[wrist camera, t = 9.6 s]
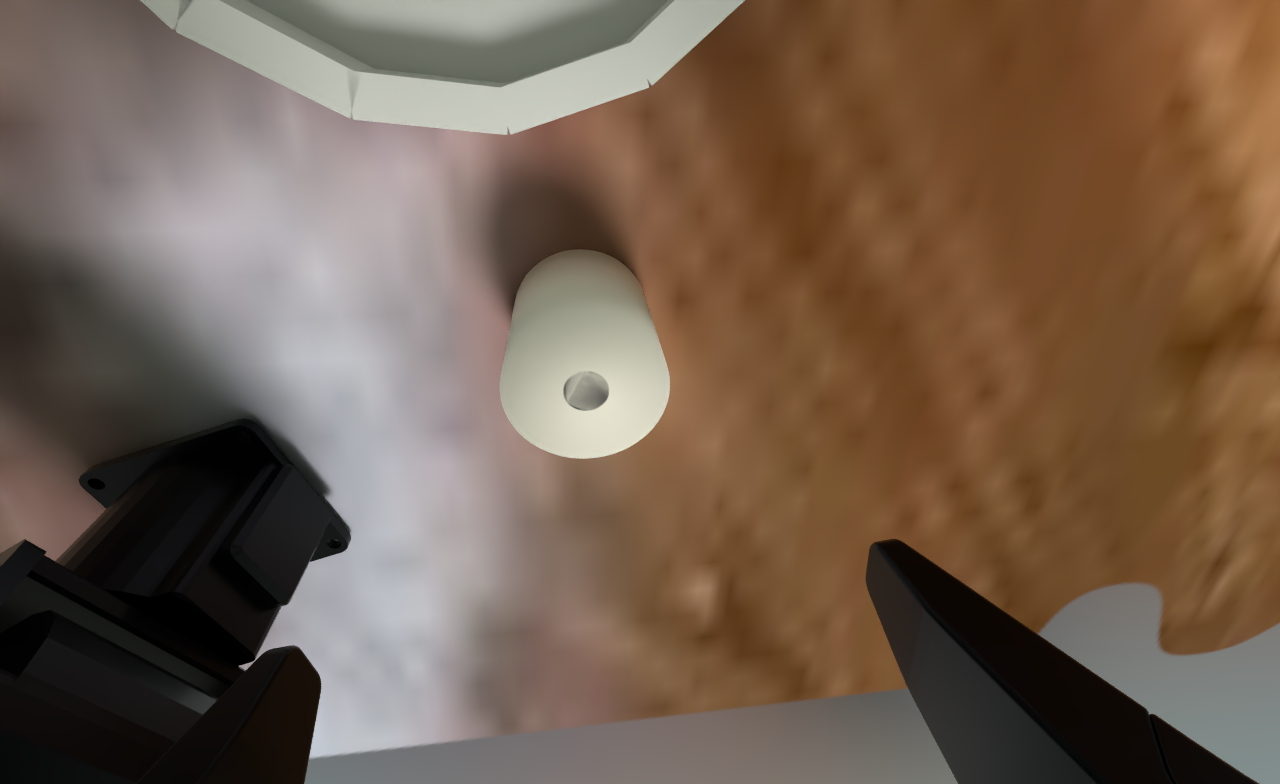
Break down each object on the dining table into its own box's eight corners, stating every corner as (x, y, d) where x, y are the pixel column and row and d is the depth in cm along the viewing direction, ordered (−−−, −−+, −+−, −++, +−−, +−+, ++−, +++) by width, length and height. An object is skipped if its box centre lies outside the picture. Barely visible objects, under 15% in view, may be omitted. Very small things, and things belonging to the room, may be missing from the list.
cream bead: (543, 386, 20) (538, 476, 16) (492, 273, 18) (469, 345, 14) (661, 349, 20) (687, 431, 16) (624, 230, 18) (643, 289, 13)
